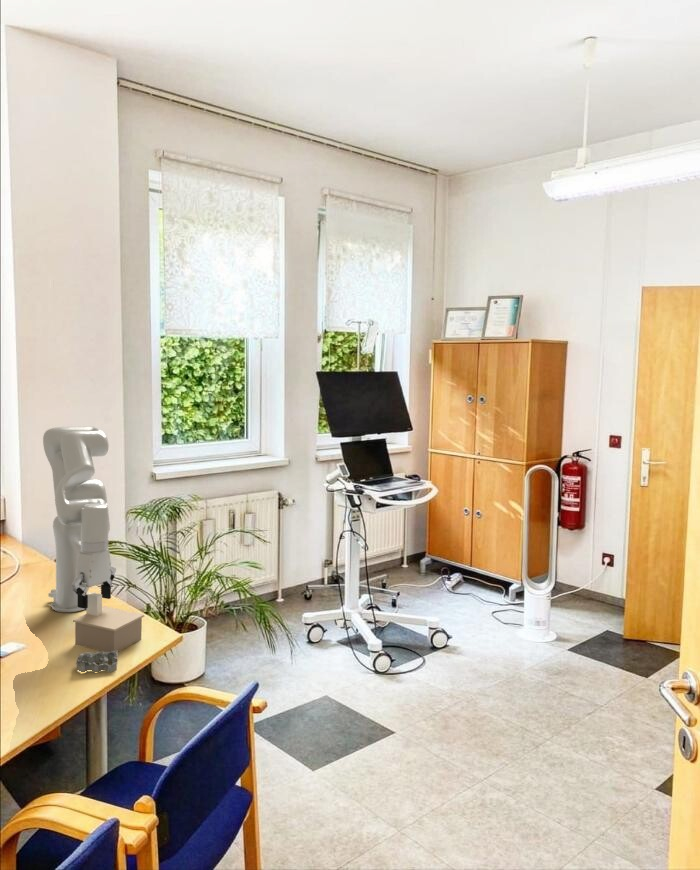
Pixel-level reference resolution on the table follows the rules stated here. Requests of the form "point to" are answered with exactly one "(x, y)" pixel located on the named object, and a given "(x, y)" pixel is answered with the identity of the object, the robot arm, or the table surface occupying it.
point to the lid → (105, 615)
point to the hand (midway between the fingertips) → (94, 602)
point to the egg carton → (90, 659)
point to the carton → (107, 636)
